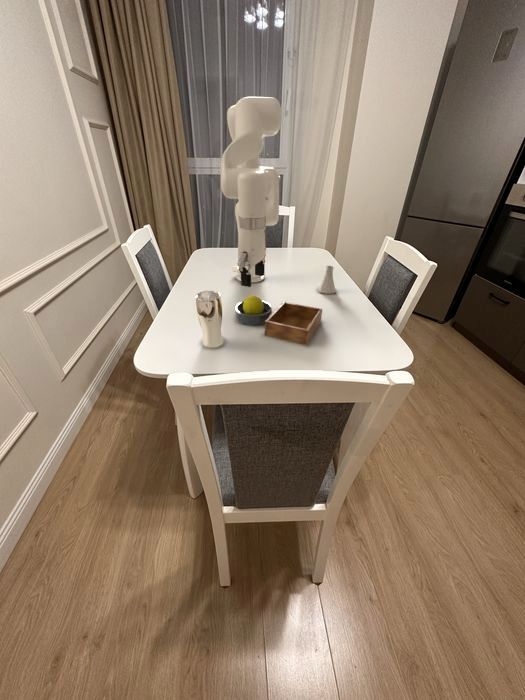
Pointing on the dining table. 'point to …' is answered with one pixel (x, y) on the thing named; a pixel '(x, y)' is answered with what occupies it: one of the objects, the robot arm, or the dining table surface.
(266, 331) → the wooden box
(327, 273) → the flask
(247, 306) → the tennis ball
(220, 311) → the beer glass
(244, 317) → the bowl
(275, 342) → the dining table surface
